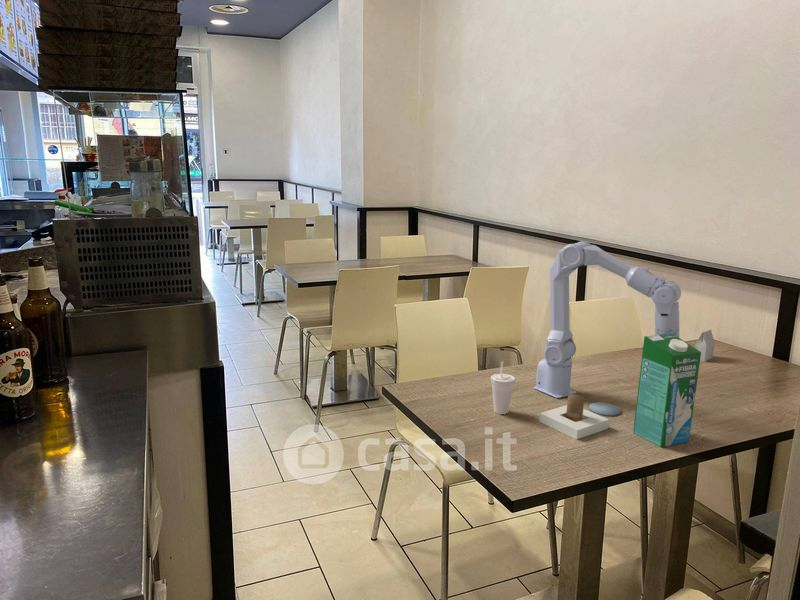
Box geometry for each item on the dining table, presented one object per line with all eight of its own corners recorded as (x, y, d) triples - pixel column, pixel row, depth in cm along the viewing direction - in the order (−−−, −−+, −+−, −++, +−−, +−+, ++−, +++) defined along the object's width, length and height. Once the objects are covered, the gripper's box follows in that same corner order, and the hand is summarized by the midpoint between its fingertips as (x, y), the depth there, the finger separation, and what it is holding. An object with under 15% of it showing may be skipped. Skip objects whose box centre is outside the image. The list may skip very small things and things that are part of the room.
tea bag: (712, 358, 210) (716, 330, 208) (704, 362, 206) (708, 333, 204) (701, 355, 213) (705, 328, 211) (693, 359, 208) (697, 331, 206)
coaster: (582, 408, 164) (583, 406, 164) (601, 402, 168) (602, 400, 168) (607, 418, 157) (607, 416, 157) (626, 412, 162) (626, 409, 162)
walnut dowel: (562, 424, 154) (564, 396, 152) (572, 420, 156) (575, 393, 154) (574, 429, 150) (577, 401, 149) (584, 426, 153) (587, 398, 151)
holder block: (539, 421, 155) (540, 413, 154) (570, 412, 161) (571, 403, 161) (576, 439, 145) (577, 430, 144) (608, 428, 152) (609, 419, 151)
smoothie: (484, 409, 162) (487, 359, 159) (504, 405, 165) (507, 356, 161) (497, 418, 156) (500, 367, 153) (517, 414, 159) (521, 364, 156)
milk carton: (661, 447, 142) (674, 346, 136) (632, 432, 150) (643, 335, 144) (689, 441, 145) (703, 342, 140) (659, 426, 153) (671, 332, 148)
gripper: (683, 335, 146) (684, 389, 148) (684, 323, 159) (685, 373, 161) (652, 335, 149) (653, 387, 151) (655, 323, 162) (656, 372, 164)
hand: (667, 380), depth 156 cm, fingers open, 7 cm apart
